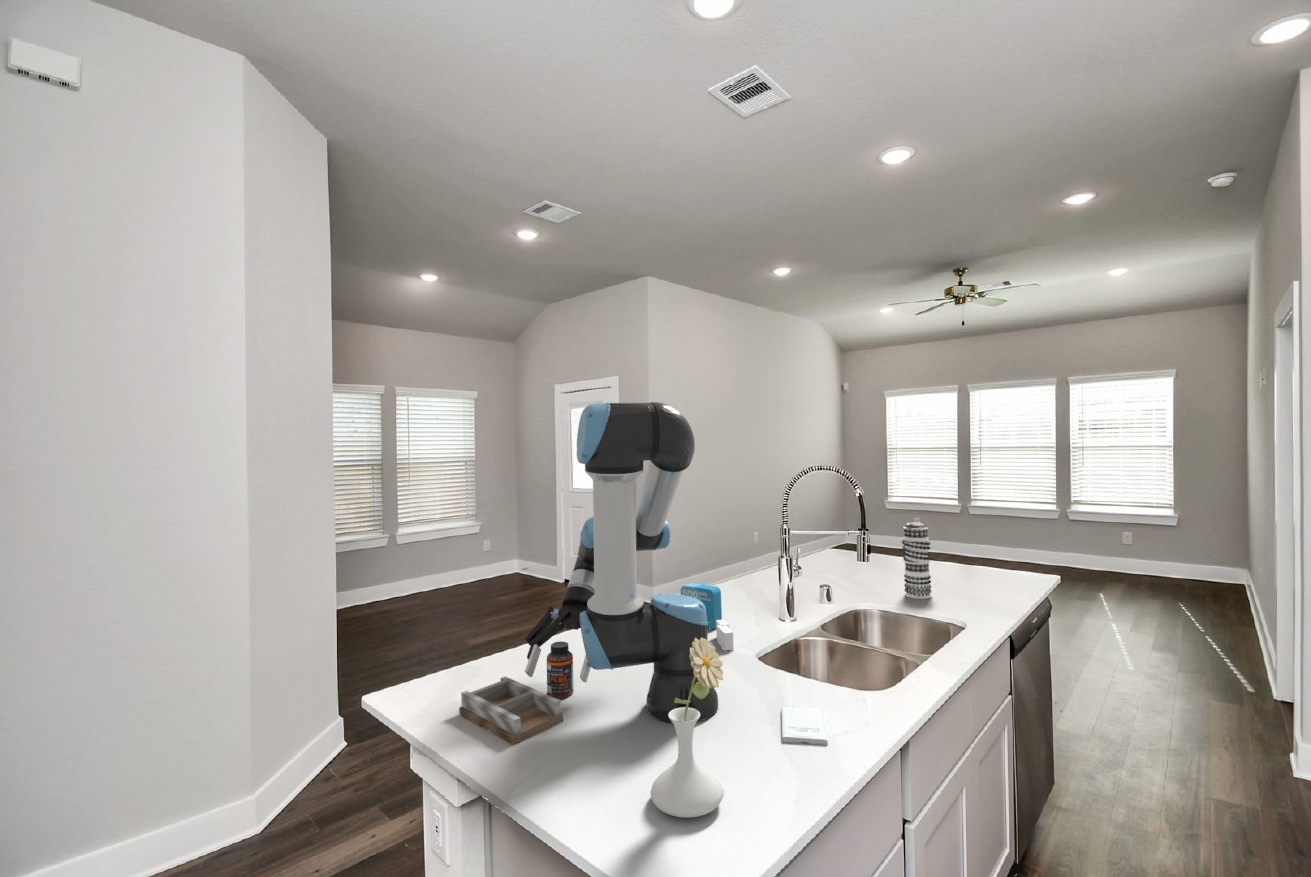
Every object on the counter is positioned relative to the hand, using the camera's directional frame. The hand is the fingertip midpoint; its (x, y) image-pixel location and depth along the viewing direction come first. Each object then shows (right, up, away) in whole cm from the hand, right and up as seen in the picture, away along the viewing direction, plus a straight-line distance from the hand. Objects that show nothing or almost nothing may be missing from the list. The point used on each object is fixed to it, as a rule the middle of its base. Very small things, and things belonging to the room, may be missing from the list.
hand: (555, 677), depth 132 cm
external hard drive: (+51, -4, -17) cm, 54 cm away
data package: (+37, -4, +48) cm, 61 cm away
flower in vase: (+28, -4, -39) cm, 48 cm away
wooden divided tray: (-8, -5, -9) cm, 13 cm away
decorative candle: (+113, -1, +73) cm, 135 cm away
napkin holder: (+42, -4, +32) cm, 53 cm away
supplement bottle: (+1, -5, +2) cm, 5 cm away
